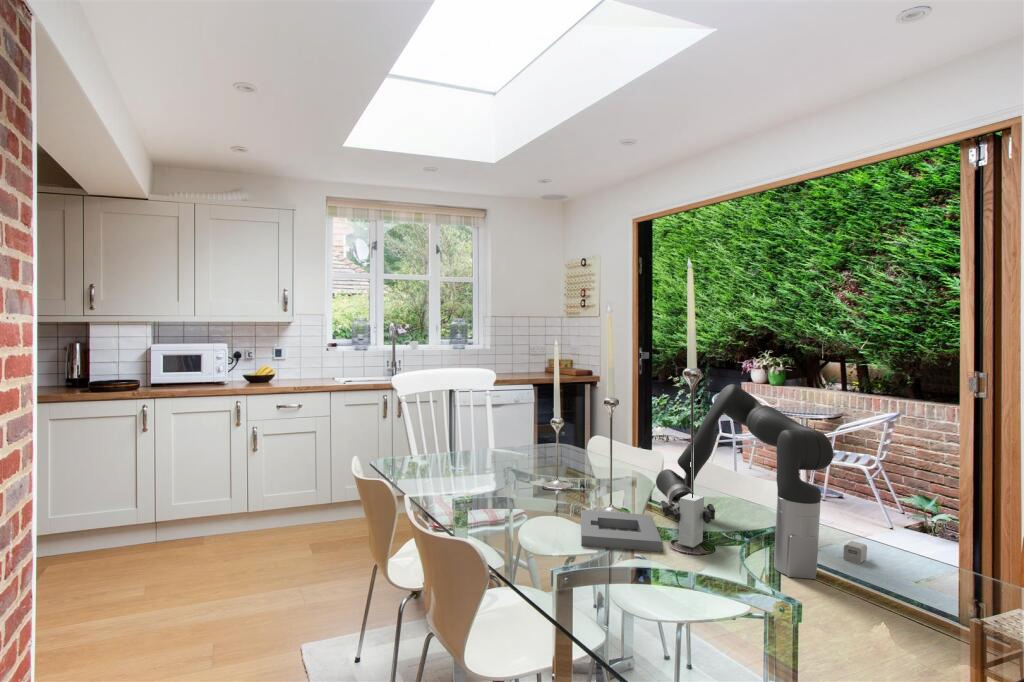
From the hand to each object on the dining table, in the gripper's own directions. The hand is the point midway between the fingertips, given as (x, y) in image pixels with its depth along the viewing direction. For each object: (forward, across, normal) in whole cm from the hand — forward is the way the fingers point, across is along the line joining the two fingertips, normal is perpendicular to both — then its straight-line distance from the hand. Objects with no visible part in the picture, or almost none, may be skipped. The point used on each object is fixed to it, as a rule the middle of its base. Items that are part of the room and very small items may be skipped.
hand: (693, 518), depth 157 cm
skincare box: (-2, 0, +7) cm, 8 cm away
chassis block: (-7, -18, +8) cm, 21 cm away
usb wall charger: (-2, +41, +8) cm, 42 cm away
